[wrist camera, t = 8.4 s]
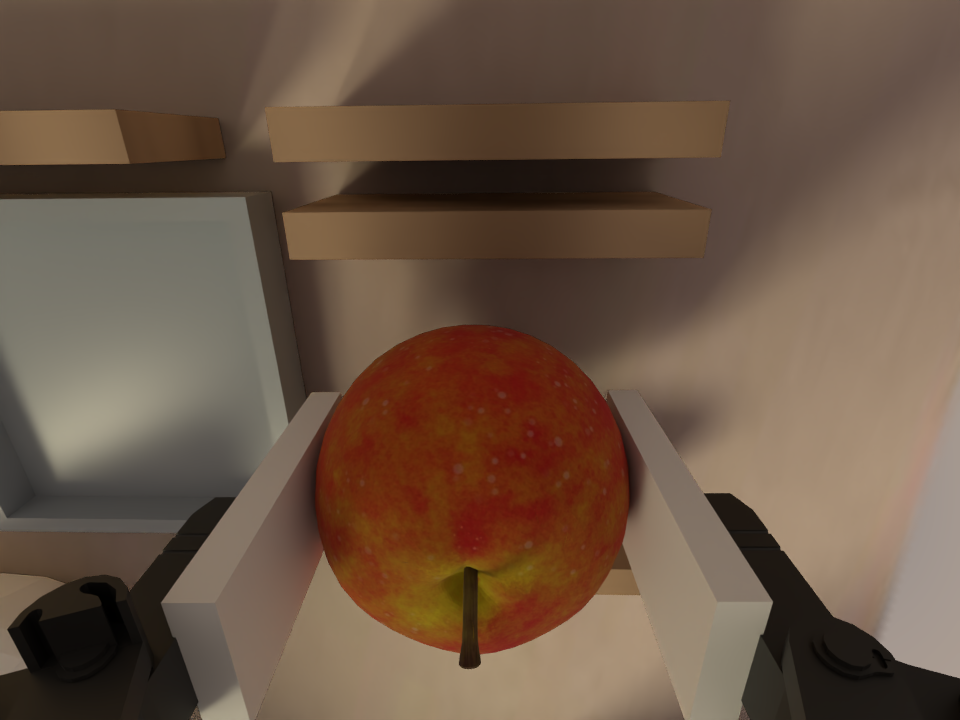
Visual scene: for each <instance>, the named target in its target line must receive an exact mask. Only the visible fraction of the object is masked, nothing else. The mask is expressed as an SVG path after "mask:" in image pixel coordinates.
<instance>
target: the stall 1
mask: <svg viewBox="0 0 960 720" xmlns="http://www.w3.org/2000/svg"><path fill="white" fill-rule="evenodd" d="M218 158H226V155H225V150H224V145H223V140H222V135H221V130H220V125H219V120H218V118H209V117H197V116H186V115H174V114H163V113H151V112H140V111H128V110H117V109H104V110H33V111H0V165H52V164H133V163H150V162H167V161H184V160H201V159H218Z"/></svg>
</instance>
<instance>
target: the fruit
mask: <svg viewBox="0 0 960 720" xmlns="http://www.w3.org/2000/svg"><path fill="white" fill-rule="evenodd" d="M629 503H630V492H629V469H628V462H627V457H626V453H625V449H624V445H623V440H622V437H621V433H620V430H619V428H618V426H617V423H616V421H615V419H614V417H613V415H612V412H611V410H610V408H609V406H608V404H607V403H606V401H605V399H604V398H603V397H602V395H601V394H600V392H599V391H598V389H597V388H596V386H595V385H594V384H593V382H592V381H591V380H590V379H589V378H588V377H587V376H586V374H585V373H584V372H583V371H582V370H581V369H580V368H579V367H578V366H577V365H576V364H575V363H574V362H573V361H571V360H570V359H569V358H567V357H566V356H565V355H563V354H562V353H561V352H559V351H558V350H557V349H555V348H554V347H552V346H551V345H549V344H547V343H545V342H543V341H541V340H539V339H537V338H535V337H533V336H531V335H528V334H524V333H521V332H518V331H515V330H512V329H508V328H502V327H496V326H490V325H458V326H451V327H443V328H439V329H436V330H432V331H429V332H425V333H422V334H419V335H417V336H415V337H413V338H410V339H408V340H406V341H404V342H402V343H400V344H398V345H396V346H395V347H393V348H392V349H390V350H389V351H387V352H386V353H384V354H383V355H381V356H380V357H379V358H377V359H376V360H375V361H374V362H373V363H372V364H371V365H370V366H369V367H368V368H367V369H366V370H365V371H364V372H363V373H361V374H360V375H359V377H358V378H357V379H356V380H355V381H354V382H353V384H352V385H351V387H350V388H349V390H348V391H347V392H346V394H345V395H344V397H343V398H342V399H341V401H340V402H339V404H338V406H337V408H336V410H335V412H334V414H333V416H332V418H331V421H330V423H329V425H328V427H327V429H326V432H325V435H324V438H323V442H322V446H321V450H320V454H319V458H318V462H317V469H316V486H315V509H316V516H317V523H318V530H319V535H320V539H321V542H322V545H323V548H324V551H325V554H326V557H327V560H328V563H329V565H330V567H331V568H332V570H333V572H334V574H335V576H336V578H337V579H338V581H339V583H340V585H341V587H342V588H343V589H344V590H345V591H346V592H347V594H348V595H349V596H350V597H351V598H352V600H353V601H354V602H355V603H356V604H357V605H358V606H359V607H360V608H361V609H363V610H364V611H365V612H366V613H367V614H369V615H370V616H371V617H372V618H374V619H376V620H377V621H379V622H380V623H382V624H384V625H385V626H387V627H388V628H390V629H392V630H394V631H396V632H398V633H400V634H402V635H404V636H406V637H408V638H411V639H413V640H416V641H418V642H421V643H423V644H426V645H429V646H433V647H436V648H439V649H442V650H447V651H452V652H457V653H460V659H459V665H460V666H461V667H462V668H464V669H472V668H473V669H474V668H477V667H478V666H479V665H480V664H481V660H480V654H486V653H494V652H498V651H502V650H506V649H509V648H513V647H516V646H518V645H521V644H524V643H526V642H529V641H531V640H533V639H535V638H537V637H539V636H541V635H543V634H545V633H547V632H549V631H551V630H552V629H554V628H556V627H557V626H559V625H561V624H562V623H564V622H565V621H567V620H568V619H570V618H571V617H572V616H574V615H575V614H576V613H577V612H579V611H580V610H581V609H582V608H583V607H584V606H585V605H586V604H587V603H588V602H589V600H590V599H591V598H592V597H593V596H594V595H595V594H596V593H597V591H598V590H599V588H600V587H601V585H602V584H603V582H604V581H605V579H606V578H607V576H608V574H609V572H610V570H611V568H612V566H613V564H614V561H615V559H616V557H617V555H618V552H619V550H620V548H621V545H622V543H623V539H624V536H625V531H626V525H627V518H628V512H629Z"/></svg>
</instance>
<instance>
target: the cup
mask: <svg viewBox="0 0 960 720" xmlns="http://www.w3.org/2000/svg"><path fill="white" fill-rule="evenodd" d="M64 584H65V583H63V582H60V581H57V580H54V579H51V578H48V577H42V576H30V575H19V574H7V573H2V574H0V675H4V674H8V673H11V672H15V671H19V670H22V669H26V668H27V666H26V664H25V662H24V660H23V659H22V657H21V655H20V653H19V651H18V649H17V647H16V645H15V644H14V642H13V640H12V638H11V636H10V634H9V632H8V630H7V629H8V627H9V626H10V625H11V624H12V622H13V621H14V620H15V619H16V618H17V616H18V615H19V614H20V613H21V612H22V611H23V610H25V609H26V608H27V607H28V606H30V605H31V604H32V603H33V602H35V601H36V600H37V599H39V598H40V597H41V596H43V595H45V594H47V593H49V592H51V591H53V590H54V589H56V588H58V587H60V586H62V585H64Z"/></svg>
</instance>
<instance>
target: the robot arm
mask: <svg viewBox="0 0 960 720" xmlns="http://www.w3.org/2000/svg"><path fill="white" fill-rule="evenodd" d="M341 399H342V397H341V392H312V393H311V394H310V395H309V397H308V398H307V400H306V401H305V402H304V404H303V405H302V407H301V408H300V409H299V411H298V412H297V413H296V415H295V416H294V418H293V419H292V420H291V422H290V423H289V425H288V426H287V427H286V429H285V430H284V432H283V433H282V434H281V436H280V437H279V439H278V440H277V441H276V443H275V444H274V446H273V447H272V448H271V450H270V451H269V453H268V454H267V455H266V457H265V458H264V460H263V461H262V462H261V464H260V465H259V467H258V468H257V469H256V471H255V472H254V474H253V475H252V476H251V478H250V479H249V481H248V482H247V483H246V485H245V486H244V488H243V489H242V490H241V492H240V493H239V495H238V496H237V497H215V498H214V499H212V500H211V501H210V502H208V503H207V504H205V505H204V506H203V507H201V508H200V509H198V510H197V511H196V512H194V513H193V514H192V515H191V516H190V517H189V519H188V520H187V521H186V522H185V523H184V525H183V526H182V527H181V528H180V530H179V531H178V532H177V533H176V538H172V540H171V541H170V542H169V543H168V545H167V546H166V547H165V548H164V550H163V554H162V555H159V556H158V557H157V558H156V560H155V561H154V562H153V563H152V564H151V566H150V567H149V568H148V569H147V571H146V572H145V573H144V574H143V576H142V577H141V578H140V579H139V581H138V582H137V583H136V584H135V586H134V587H133V588H132V589H131V591H130V592H129V590H128V587H127V586H126V585H125V584H124V582H123V581H122V580H121V579H120V578H117V577H113V576H108V575H99V576H91V577H85V578H82V579H79V580H76V581H73V582H70V583H67V584H64V585H62V586H60V587H58V588H56V589H54V590H53V591H51V592H49V593H47V594H45V595H43V596H41V597H40V598H39V599H37V600H36V601H35V602H33V603H32V604H31V605H30V606H28V607H27V608H26V609H25V610H23V611H22V612H21V613H20V614H19V615H18V616H17V618H16V619H15V620H14V621H13V622H12V624H11V625H10V626H9V627H8V629H7V630H8V632H9V634H10V636H11V638H12V640H13V642H14V644H15V645H16V647H17V649H18V651H19V653H20V655H21V657H22V659H23V660H24V662H25V664H26V666H27V668H26V669H22V670H19V671H15V672H11V673H8V674H4V675H0V720H189V719H190V717H191V715H192V714H193V712H194V710H195V708H196V706H197V707H198V709H199V712H200V715H201V718H202V720H255V719H256V717H257V714H258V712H259V710H260V707H261V705H262V702H263V700H264V697H265V695H266V692H267V690H268V687H269V685H270V682H271V680H272V677H273V675H274V672H275V670H276V667H277V665H278V662H279V660H280V657H281V655H282V652H283V650H284V647H285V645H286V642H287V640H288V637H289V635H290V632H291V630H292V627H293V625H294V622H295V620H296V618H297V615H298V613H299V610H300V608H301V605H302V603H303V600H304V598H305V595H306V593H307V590H308V588H309V585H310V583H311V580H312V578H313V575H314V573H315V570H316V568H317V565H318V563H319V560H320V558H321V555H322V553H323V550H324V548H323V545H322V542H321V539H320V535H319V530H318V523H317V516H316V509H315V486H316V469H317V462H318V458H319V454H320V450H321V446H322V442H323V438H324V435H325V432H326V429H327V427H328V425H329V423H330V421H331V418H332V416H333V414H334V412H335V410H336V408H337V406H338V404H339V402H340V401H341ZM607 404H608V406H609V408H610V410H611V412H612V415H613V417H614V419H615V421H616V423H617V426H618V428H619V430H620V433H621V437H622V440H623V445H624V449H625V453H626V457H627V462H628V469H629V492H630V503H629V512H628V518H627V525H626V531H625V536H624V539H623V543H622V544H623V547H624V549H625V552H626V555H627V558H628V561H629V564H630V566H631V569H632V572H633V575H634V578H635V581H636V583H637V586H638V589H639V592H640V595H641V598H642V600H643V603H644V606H645V609H646V612H647V615H648V617H649V620H650V623H651V626H652V629H653V632H654V635H655V637H656V640H657V643H658V646H659V649H660V652H661V654H662V657H663V660H664V663H665V666H666V669H667V671H668V674H669V677H670V680H671V683H672V686H673V688H674V691H675V694H676V697H677V700H678V703H679V705H680V708H681V711H682V714H683V717H684V720H738V719H739V715H740V712H741V708H742V705H744V708H745V710H746V712H747V714H748V716H749V718H750V720H960V678H956V677H952V676H948V675H944V674H941V673H937V672H933V671H929V670H926V669H922V668H918V667H915V666H911V665H907V664H905V663H902V662H899V661H896V660H895V659H894V657H893V655H892V654H891V653H890V652H889V651H888V650H887V649H886V648H885V647H884V646H883V645H881V644H880V643H879V642H878V641H877V640H876V639H875V638H874V637H872V636H871V635H869V634H867V633H866V632H864V631H863V630H861V629H859V628H858V627H856V626H855V625H853V624H850V623H848V622H845V621H842V620H840V619H837V618H834V617H833V616H832V615H831V614H830V612H829V611H828V610H827V608H826V607H825V606H824V604H823V603H822V602H821V600H820V599H819V598H818V596H817V595H816V594H815V592H814V591H813V590H812V588H811V587H810V586H809V584H808V583H807V582H806V580H805V579H804V578H803V576H802V575H801V574H800V572H799V571H798V570H797V568H796V567H795V566H794V564H793V563H792V562H791V560H790V559H789V558H788V556H787V555H786V554H785V552H784V551H781V550H780V546H779V544H778V543H777V542H776V540H775V539H774V538H773V536H772V535H771V534H768V530H767V528H766V527H765V526H764V524H763V523H762V522H761V520H760V519H759V517H758V516H757V515H756V513H755V512H754V511H753V510H752V509H751V508H749V507H748V506H747V505H745V504H744V503H743V502H741V501H740V500H739V499H737V498H736V497H734V496H733V495H732V494H730V493H703V492H702V490H701V489H700V487H699V486H698V484H697V482H696V481H695V479H694V478H693V476H692V475H691V473H690V472H689V470H688V468H687V467H686V465H685V464H684V462H683V461H682V459H681V458H680V456H679V454H678V453H677V451H676V450H675V448H674V447H673V445H672V444H671V442H670V440H669V439H668V437H667V436H666V434H665V433H664V431H663V429H662V428H661V426H660V425H659V423H658V422H657V420H656V419H655V417H654V415H653V414H652V412H651V411H650V409H649V408H648V406H647V405H646V403H645V401H644V400H643V398H642V397H641V395H640V394H639V392H638V391H637V390H608V393H607Z"/></svg>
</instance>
